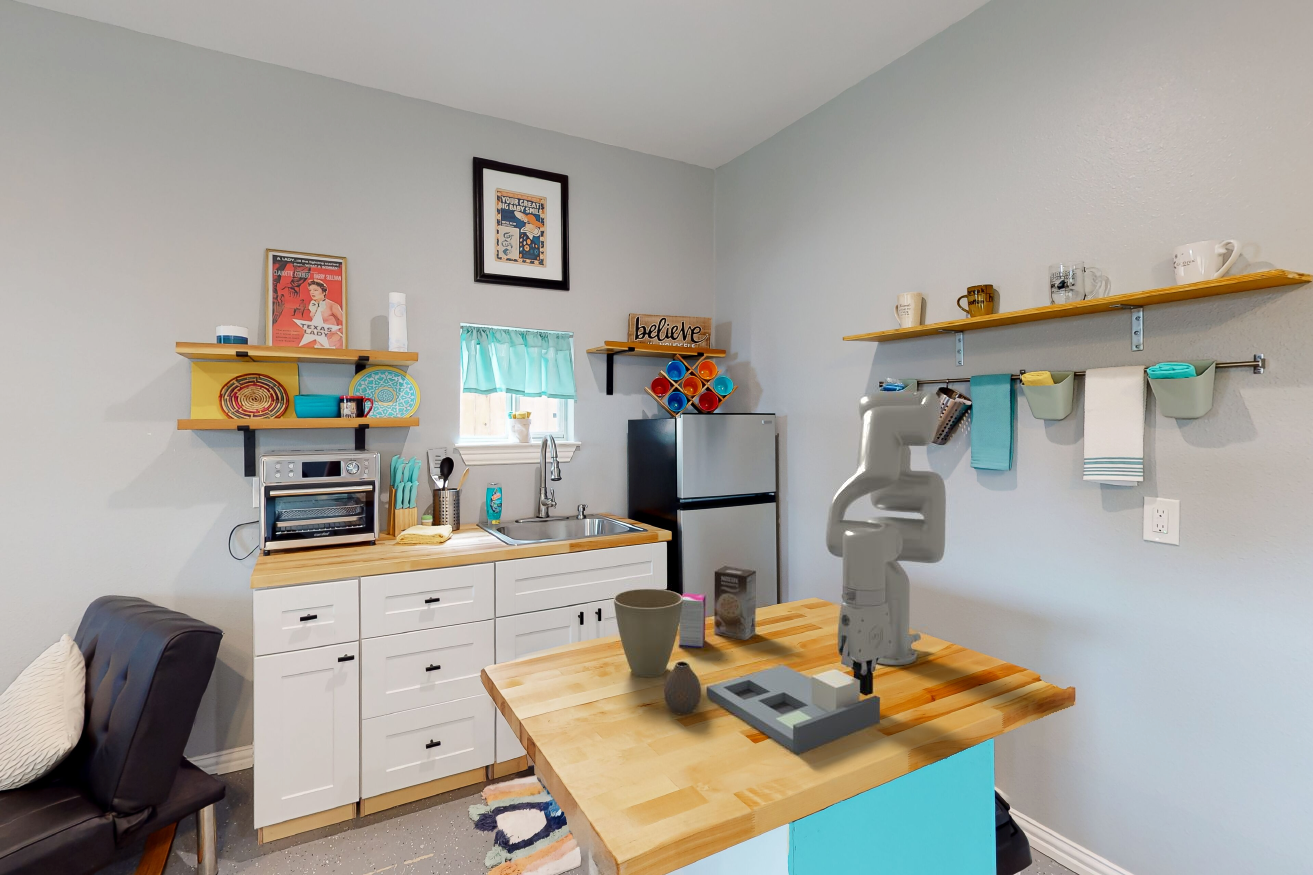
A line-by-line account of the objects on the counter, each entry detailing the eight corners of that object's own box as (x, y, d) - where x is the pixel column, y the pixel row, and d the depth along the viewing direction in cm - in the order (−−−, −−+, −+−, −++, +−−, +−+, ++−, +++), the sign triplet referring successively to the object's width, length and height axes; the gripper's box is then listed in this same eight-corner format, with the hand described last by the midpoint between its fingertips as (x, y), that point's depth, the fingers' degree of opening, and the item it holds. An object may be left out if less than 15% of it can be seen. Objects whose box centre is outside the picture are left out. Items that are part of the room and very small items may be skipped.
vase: (675, 721, 114) (675, 673, 114) (657, 706, 120) (657, 660, 120) (708, 713, 117) (707, 666, 117) (689, 698, 123) (688, 654, 123)
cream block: (834, 694, 120) (834, 668, 119) (859, 707, 114) (859, 680, 114) (811, 702, 117) (811, 675, 116) (835, 715, 111) (835, 687, 111)
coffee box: (712, 634, 159) (712, 570, 158) (724, 626, 164) (723, 565, 164) (746, 640, 154) (746, 575, 154) (757, 632, 160) (756, 569, 159)
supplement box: (703, 648, 149) (702, 600, 149) (678, 647, 150) (678, 599, 150) (706, 640, 155) (705, 593, 154) (682, 638, 156) (681, 592, 156)
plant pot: (663, 690, 127) (662, 612, 126) (601, 676, 134) (600, 602, 133) (694, 664, 140) (694, 593, 139) (636, 652, 147) (635, 584, 146)
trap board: (782, 673, 134) (782, 652, 134) (879, 722, 113) (879, 697, 113) (706, 696, 124) (706, 673, 124) (797, 754, 103) (797, 727, 102)
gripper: (851, 606, 111) (851, 709, 112) (906, 593, 119) (906, 690, 119) (819, 596, 117) (819, 694, 118) (873, 584, 125) (873, 676, 126)
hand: (863, 691), depth 119 cm, fingers closed
